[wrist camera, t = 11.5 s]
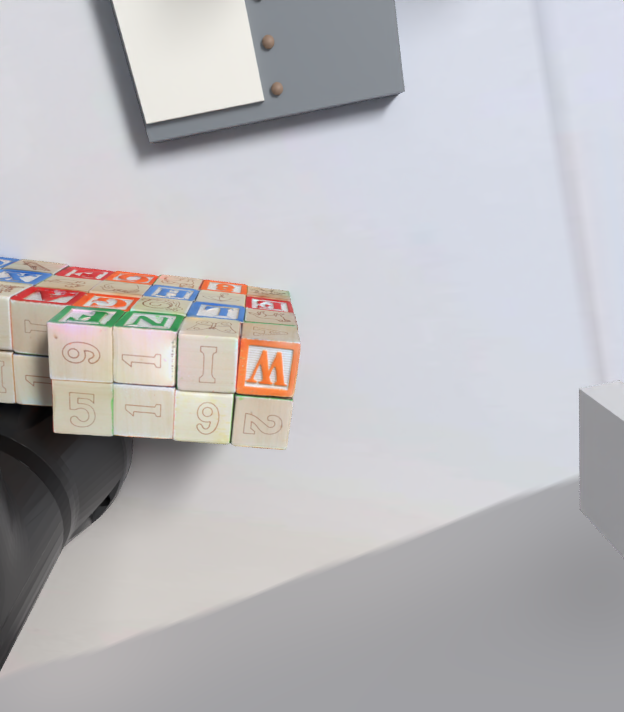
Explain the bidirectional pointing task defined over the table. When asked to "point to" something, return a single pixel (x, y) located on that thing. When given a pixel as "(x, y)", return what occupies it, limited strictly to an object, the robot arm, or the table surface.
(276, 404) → the stack of blocks
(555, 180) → the table surface
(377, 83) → the board
